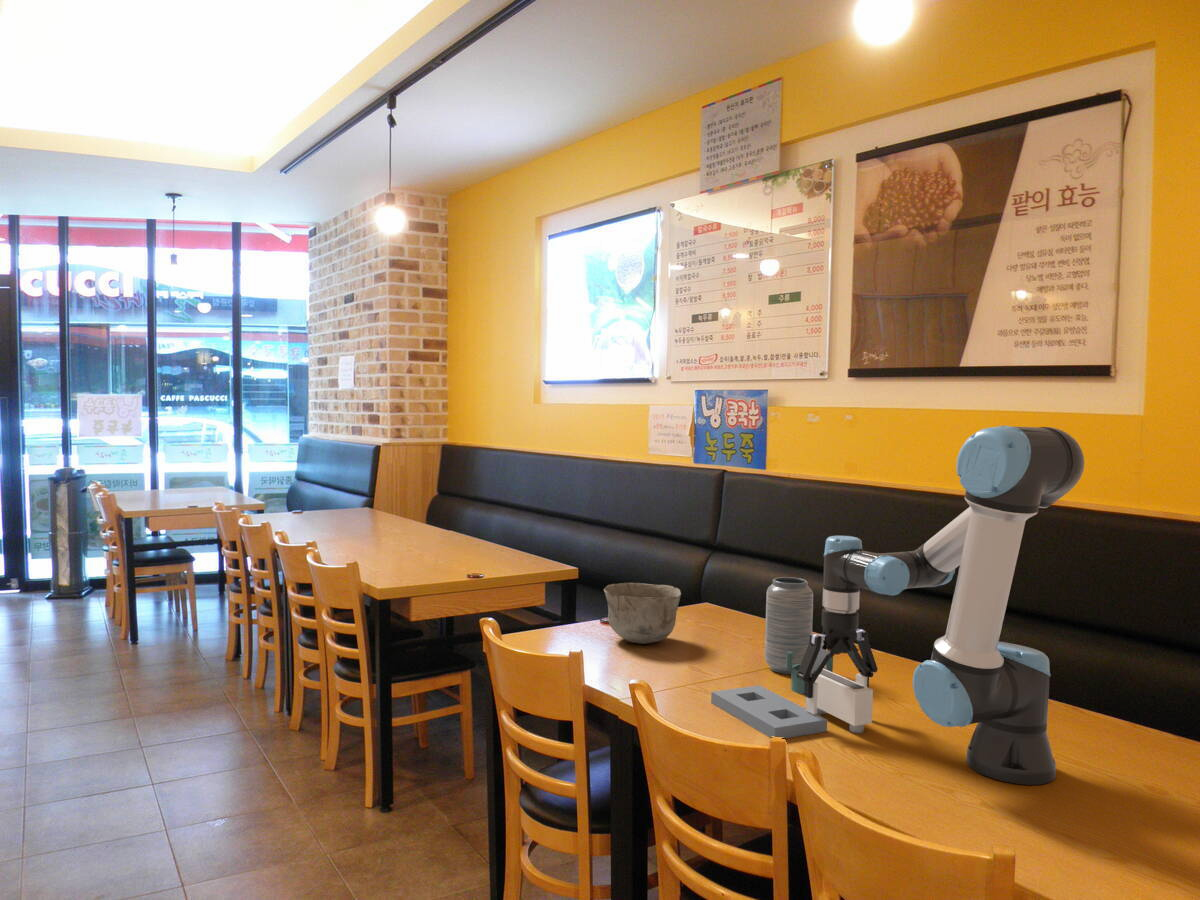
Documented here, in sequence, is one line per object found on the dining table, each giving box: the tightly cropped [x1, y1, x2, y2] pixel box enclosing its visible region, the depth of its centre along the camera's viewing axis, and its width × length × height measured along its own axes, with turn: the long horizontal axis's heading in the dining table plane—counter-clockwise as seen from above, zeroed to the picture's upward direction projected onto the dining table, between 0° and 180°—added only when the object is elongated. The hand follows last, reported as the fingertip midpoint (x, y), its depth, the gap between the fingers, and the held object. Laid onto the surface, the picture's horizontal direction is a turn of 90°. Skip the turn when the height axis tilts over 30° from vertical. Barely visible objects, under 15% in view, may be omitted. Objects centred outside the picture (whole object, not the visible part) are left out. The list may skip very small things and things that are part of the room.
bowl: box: [603, 582, 682, 645], centre depth 248 cm, size 22×22×15 cm
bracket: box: [786, 651, 834, 695], centre depth 209 cm, size 9×9×9 cm
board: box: [710, 684, 828, 739], centre depth 189 cm, size 24×13×2 cm, turn 24°
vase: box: [764, 576, 814, 675], centre depth 224 cm, size 12×12×23 cm
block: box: [804, 668, 874, 734], centre depth 187 cm, size 16×4×9 cm, turn 24°
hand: (836, 708), depth 187 cm, fingers open, 12 cm apart
